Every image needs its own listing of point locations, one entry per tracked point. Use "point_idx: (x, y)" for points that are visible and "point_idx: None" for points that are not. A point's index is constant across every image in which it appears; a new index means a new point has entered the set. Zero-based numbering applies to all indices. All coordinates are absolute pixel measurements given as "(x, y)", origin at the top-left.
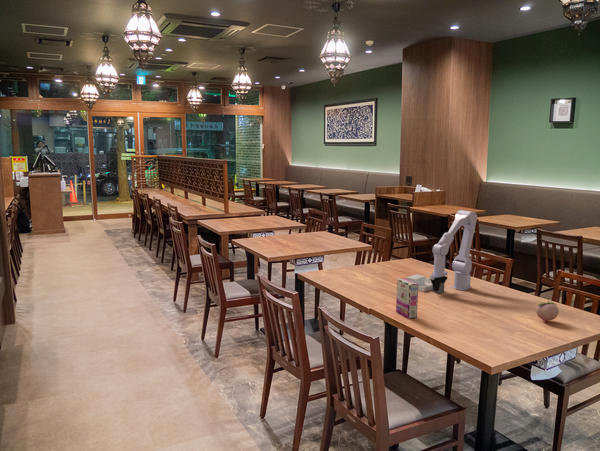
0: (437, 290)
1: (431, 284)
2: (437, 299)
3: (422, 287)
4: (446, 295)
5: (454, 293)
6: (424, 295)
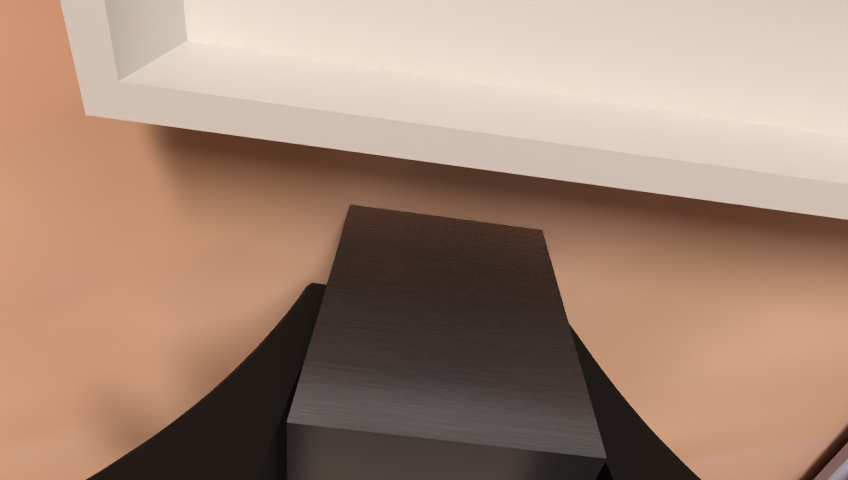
0: None
1: (620, 153)
2: (53, 403)
3: (75, 35)
4: None
5: None
6: (9, 159)
